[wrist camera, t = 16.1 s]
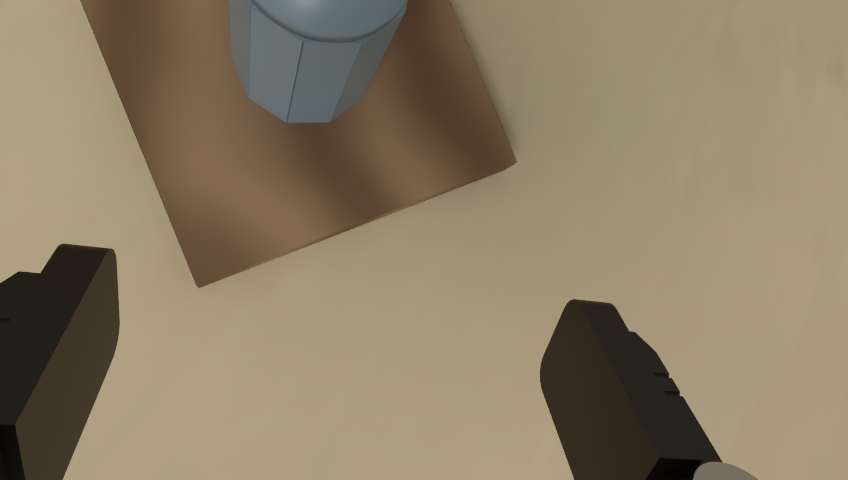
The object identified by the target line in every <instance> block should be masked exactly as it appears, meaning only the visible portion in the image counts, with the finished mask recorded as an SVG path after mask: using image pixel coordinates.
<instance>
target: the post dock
mask: <svg viewBox="0 0 848 480" xmlns="http://www.w3.org/2000/svg"><path fill="white" fill-rule="evenodd" d="M80 1H81V3H82V6H83V8H84V11H85V13H86V16H87V18H88V21H89V23H90V25H91V28H92V30H93V33H94V35H95V38H96V40H97V43H98V45H99V48H100V50H101V52H102V55H103V57H104V60H105V62H106V65H107V67H108V70H109V72H110V74H111V77H112V79H113V82H114V84H115V87H116V89H117V92H118V94H119V97H120V99H121V101H122V104H123V106H124V109H125V111H126V114H127V116H128V119H129V121H130V124H131V126H132V128H133V131H134V133H135V136H136V138H137V141H138V143H139V146H140V148H141V151H142V153H143V155H144V158H145V160H146V163H147V165H148V168H149V170H150V173H151V175H152V178H153V180H154V182H155V185H156V187H157V190H158V192H159V195H160V197H161V200H162V202H163V204H164V207H165V209H166V212H167V214H168V217H169V219H170V222H171V224H172V227H173V229H174V231H175V234H176V236H177V239H178V241H179V244H180V246H181V249H182V251H183V254H184V256H185V258H186V261H187V263H188V266H189V268H190V271H191V273H192V276H193V278H194V281H195V283H196V285H197V286H198V287H199V288H200V287H203V286H205V285H208V284H210V283H213V282H216V281H218V280H221V279H223V278H226V277H229V276H231V275H234V274H236V273H239V272H241V271H244V270H247V269H249V268H252V267H254V266H257V265H260V264H262V263H265V262H267V261H270V260H273V259H275V258H278V257H280V256H283V255H285V254H288V253H291V252H293V251H296V250H298V249H301V248H304V247H306V246H309V245H311V244H314V243H316V242H319V241H322V240H324V239H327V238H329V237H332V236H335V235H337V234H340V233H342V232H345V231H347V230H350V229H353V228H355V227H358V226H360V225H363V224H366V223H368V222H371V221H373V220H376V219H379V218H381V217H384V216H386V215H389V214H391V213H394V212H397V211H399V210H402V209H404V208H407V207H410V206H412V205H415V204H417V203H420V202H422V201H425V200H428V199H430V198H433V197H435V196H438V195H441V194H443V193H446V192H448V191H451V190H453V189H456V188H459V187H461V186H464V185H466V184H469V183H472V182H474V181H477V180H479V179H482V178H485V177H487V176H490V175H492V174H495V173H497V172H500V171H503V170H505V169H507V168H508V167H510V166H512V165H513V164H515V163H516V162H517V161H516V159H515V156H514V154H513V151H512V149H511V147H510V144H509V142H508V140H507V137H506V135H505V132H504V130H503V128H502V125H501V123H500V121H499V118H498V116H497V114H496V111H495V109H494V106H493V104H492V102H491V99H490V97H489V95H488V92H487V90H486V88H485V85H484V83H483V80H482V78H481V76H480V73H479V71H478V69H477V66H476V64H475V61H474V59H473V57H472V54H471V52H470V50H469V47H468V45H467V43H466V40H465V38H464V35H463V33H462V31H461V28H460V26H459V24H458V21H457V19H456V17H455V14H454V12H453V9H452V7H451V5H450V2H449V0H408V2H407V6H406V11H405V13H404V15H403V17H402V19H401V21H400V23H399V25H398V27H397V29H396V31H395V33H394V35H393V37H392V39H391V41H390V43H389V45H388V47H387V49H386V51H385V53H384V55H383V57H382V59H381V61H380V63H379V65H378V67H377V69H376V71H375V73H374V75H373V77H372V79H371V81H370V83H369V85H368V87H367V89H366V90H365V92H364V94H363V96H362V98H361V99H360V100H359V101H357V102H356V103H355V104H354V105H352V106H351V107H350V108H348V109H347V110H346V111H344V112H343V113H342V114H340V115H339V116H338V117H336V118H335V119H334V120H333V121H331V122H321V123H287V122H284V121H283V120H281V119H280V118H278V117H277V116H275V115H274V114H272V113H270V112H269V111H267V110H266V109H264V108H263V107H261V106H260V105H258V104H256V103H255V102H253V101H252V100H250V99H249V98H248V96H247V94H246V91H245V89H244V87H243V84H242V82H241V80H240V77H239V75H238V73H237V70H236V68H235V65H234V63H233V61H232V56H231V34H230V12H229V0H80Z"/></svg>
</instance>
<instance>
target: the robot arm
mask: <svg viewBox="0 0 848 480" xmlns="http://www.w3.org/2000/svg"><path fill="white" fill-rule="evenodd" d="M119 323H120V321H119V300H118V281H117V262H116V254H115V252H114V250H113V249H108V248H99V247H90V246H80V245H71V244H61V245H59V246H58V247H57V249H56V250H55V252H54V253H53V255H52V256H51V258H50V259H49V261H48V262H47V264H46V265H45V267H44V268H43V270H42V272H41V273H30V272H20V271H19V272H17V273H16V274H14V275H13V276H11V277H9V278H8V279H6V280H5V281H3V282H2V283H0V480H63V477H64V475H65V472H66V470H67V468H68V465H69V463H70V460H71V458H72V455H73V453H74V451H75V448H76V446H77V443H78V441H79V439H80V436H81V434H82V431H83V429H84V427H85V424H86V422H87V419H88V417H89V415H90V412H91V410H92V407H93V405H94V402H95V400H96V398H97V395H98V393H99V390H100V388H101V386H102V383H103V381H104V378H105V376H106V374H107V371H108V369H109V366H110V364H111V362H112V359H113V356H114V353H115V350H116V346H117V341H118V335H119ZM540 382H541V388H542V391H543V394H544V397H545V400H546V402H547V405H548V408H549V411H550V413H551V416H552V419H553V422H554V424H555V427H556V430H557V433H558V436H559V438H560V441H561V444H562V447H563V449H564V452H565V455H566V458H567V460H568V463H569V466H570V469H571V471H572V474H573V477H574V480H758V479H757V478H755V477H754V476H752V475H751V474H749V473H748V472H746V471H744V470H742V469H740V468H738V467H736V466H733V465H730V464H727V463H723V462H722V461H721V459H720V457H719V456H718V454H717V452H716V451H715V449H714V447H713V446H712V444H711V442H710V441H709V439H708V437H707V436H706V434H705V432H704V431H703V429H702V427H701V426H700V424H699V423H698V421H697V419H696V418H695V416H694V414H693V413H692V411H691V409H690V408H689V406H688V404H687V403H686V401H685V399H684V398H683V396H680V391H679V389H678V388H677V386H676V384H675V383H674V381H673V379H672V378H669V373H668V371H667V369H666V368H665V366H664V365H663V363H662V361H661V360H660V358H659V356H658V355H657V353H656V352H655V351H654V350H653V349H652V348H651V347H650V346H649V345H648V344H647V343H646V342H645V341H644V340H643V339H642V338H641V337H640V336H638V335H637V334H636V333H635V332H630V331H629V330H628V328H627V327H626V325H625V323H624V321H623V320H622V318H621V316H620V315H619V313H618V311H617V309H616V308H615V306H613V305H612V304H611V303H604V302H595V301H585V300H576V299H573V300H571V301H569V302H568V303H567V305H566V306H565V308H564V310H563V312H562V315H561V317H560V319H559V322H558V324H557V326H556V328H555V331H554V333H553V335H552V337H551V340H550V342H549V344H548V346H547V349H546V351H545V353H544V356H543V358H542V362H541V368H540Z"/></svg>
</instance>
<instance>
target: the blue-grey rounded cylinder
mask: <svg viewBox="0 0 848 480" xmlns="http://www.w3.org/2000/svg"><path fill="white" fill-rule="evenodd" d="M407 2H408V0H229V12H230V34H231V56H232V61H233V63H234V65H235V68H236V70H237V73H238V75H239V77H240V80H241V82H242V84H243V87H244V89H245V91H246V94H247V96H248V98H249V99H250V100H252V101H253V102H255V103H256V104H258V105H260V106H261V107H263V108H264V109H266V110H267V111H269V112H270V113H272V114H274V115H275V116H277V117H278V118H280V119H281V120H283V121H284V122H287V123H321V122H331V121H333V120H334V119H335V118H336V117H338V116H339V115H340V114H342V113H343V112H344V111H346V110H347V109H348V108H350V107H351V106H352V105H354V104H355V103H356V102H357V101H359V100H360V99H361V98H362V96H363V94H364V92H365V90H366V89H367V87H368V85H369V83H370V81H371V79H372V77H373V75H374V73H375V71H376V69H377V67H378V65H379V63H380V61H381V59H382V57H383V55H384V53H385V51H386V49H387V47H388V45H389V43H390V41H391V39H392V37H393V35H394V33H395V31H396V29H397V27H398V25H399V23H400V21H401V19H402V17H403V15H404V13H405V11H406V6H407Z"/></svg>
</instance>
